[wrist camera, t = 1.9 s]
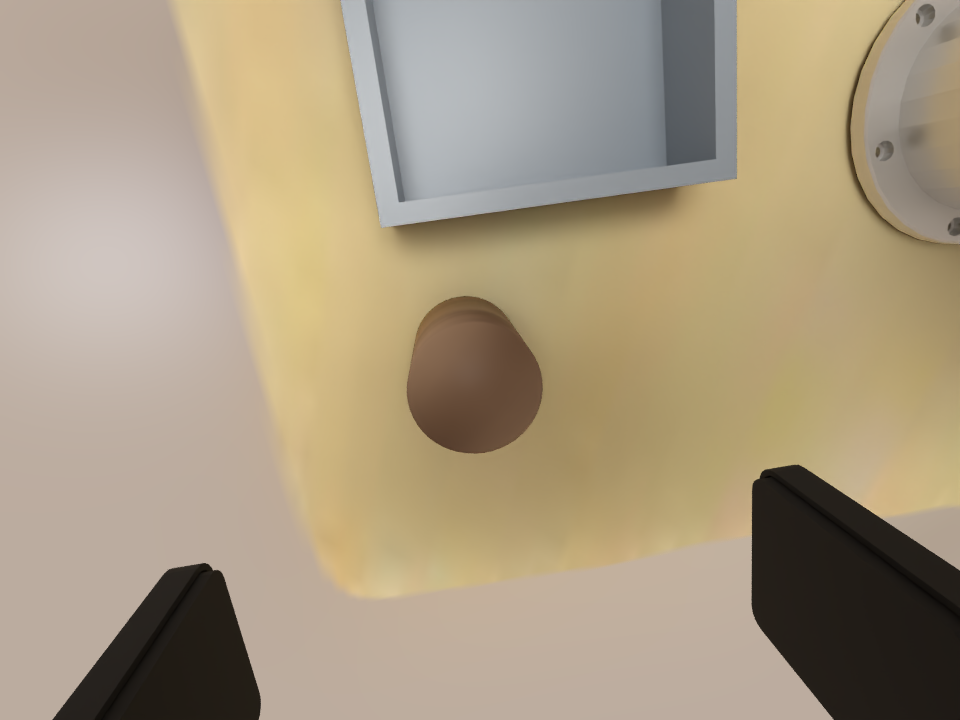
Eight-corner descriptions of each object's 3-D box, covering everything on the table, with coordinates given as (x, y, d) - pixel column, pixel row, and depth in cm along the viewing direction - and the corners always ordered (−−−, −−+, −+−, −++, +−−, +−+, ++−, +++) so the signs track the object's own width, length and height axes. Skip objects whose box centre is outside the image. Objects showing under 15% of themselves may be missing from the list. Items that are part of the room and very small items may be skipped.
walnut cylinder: (535, 336, 26) (569, 376, 19) (475, 412, 27) (487, 476, 20) (455, 275, 25) (461, 296, 18) (395, 356, 26) (379, 405, 19)
